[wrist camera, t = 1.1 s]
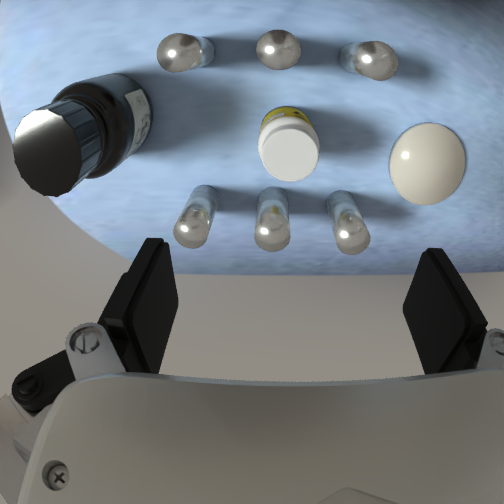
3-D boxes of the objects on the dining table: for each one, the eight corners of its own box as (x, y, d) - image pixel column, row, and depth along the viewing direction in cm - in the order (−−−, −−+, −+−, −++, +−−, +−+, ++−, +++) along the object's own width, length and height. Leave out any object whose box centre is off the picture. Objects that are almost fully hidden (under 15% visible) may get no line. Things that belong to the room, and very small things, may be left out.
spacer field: (371, 45, 23) (399, 45, 17) (351, 217, 33) (366, 255, 27) (181, 38, 24) (156, 36, 18) (192, 210, 34) (175, 247, 28)
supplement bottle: (320, 137, 29) (336, 167, 22) (279, 161, 30) (280, 199, 23) (293, 95, 26) (300, 110, 20) (250, 122, 28) (242, 147, 21)
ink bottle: (128, 173, 32) (72, 233, 22) (67, 134, 29) (-5, 179, 19) (173, 95, 27) (117, 124, 17) (102, 55, 24) (23, 70, 14)
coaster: (468, 131, 26) (472, 133, 25) (450, 205, 31) (453, 208, 31) (395, 115, 26) (398, 117, 26) (381, 198, 32) (383, 201, 31)
